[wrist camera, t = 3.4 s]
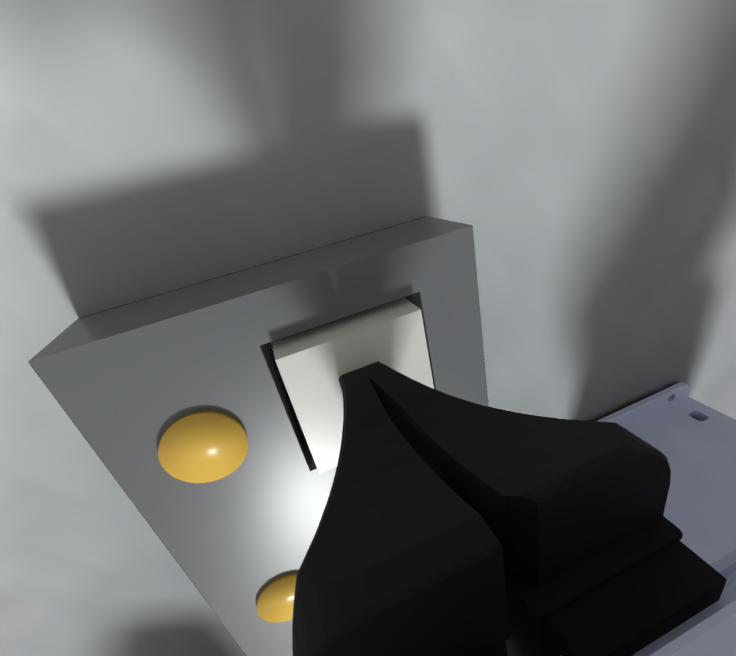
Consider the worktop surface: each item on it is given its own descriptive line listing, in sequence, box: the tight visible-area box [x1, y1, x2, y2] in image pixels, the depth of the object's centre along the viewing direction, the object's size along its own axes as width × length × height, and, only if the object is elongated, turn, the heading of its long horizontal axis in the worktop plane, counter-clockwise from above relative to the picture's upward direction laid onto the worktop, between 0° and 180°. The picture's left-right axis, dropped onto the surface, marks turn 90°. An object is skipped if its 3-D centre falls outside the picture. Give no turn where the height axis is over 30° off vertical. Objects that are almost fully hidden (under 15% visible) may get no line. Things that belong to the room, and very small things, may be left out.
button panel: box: [28, 217, 488, 656], centre depth 16 cm, size 12×24×3 cm, turn 13°
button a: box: [272, 297, 434, 474], centre depth 13 cm, size 4×4×3 cm
